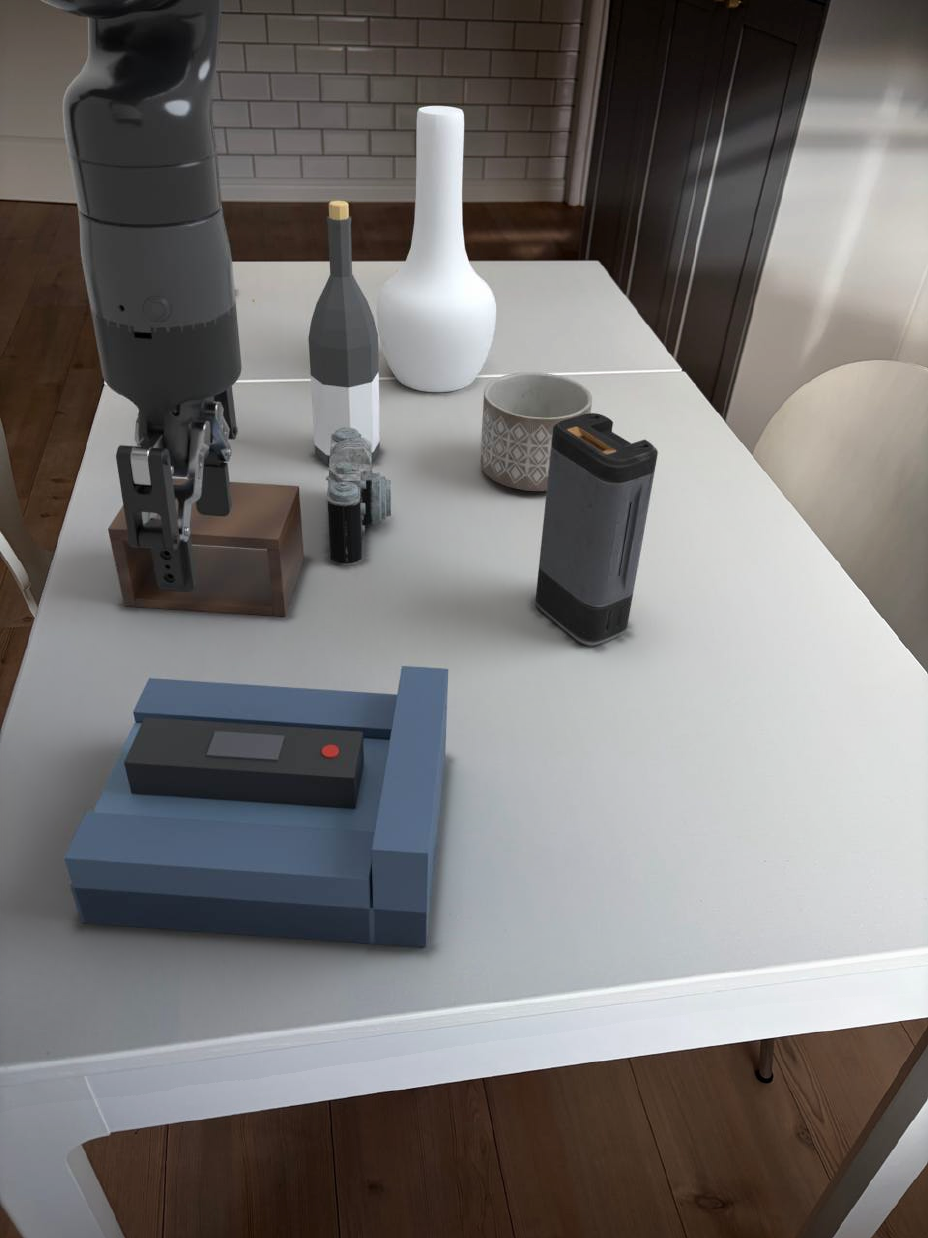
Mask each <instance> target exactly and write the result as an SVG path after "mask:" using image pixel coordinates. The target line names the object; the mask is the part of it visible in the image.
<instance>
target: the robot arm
mask: <svg viewBox="0 0 928 1238" xmlns="http://www.w3.org/2000/svg"><path fill="white" fill-rule="evenodd" d="M40 1H41V2H43V3H45V4H47V5H49V6H51V7H53V8H55V9H58V10H61V11H63V12H65V13H68V14H71V15H73V16H78V17H82V18H85V19H87V41H88V43H87V47H88V48H87V49H88V50H87V57H86V61H85V63H84V65H83V67H82V69H81V70H80V72H79V73H78V74H77V75H76V76H75V78H74V79H73V80H72V81H71V82H70V83H69V84H68V86H67V88H66V90H65V92H64V94H63V99H62V109H61V111H62V123H63V131H64V138H65V144H66V150H67V155H68V159H69V166H70V171H71V177H72V182H73V188H74V194H75V200H76V205H77V209H78V210H77V212H78V214H77V215H78V220H79V222H78V223H79V243H80V244H79V245H80V257H81V263H82V269H83V275H84V280H85V285H86V291H87V292H86V293H87V297H88V302H89V308H90V314H91V319H92V324H93V329H94V336H95V340H96V347H97V351H98V356H99V362H100V363H99V364H100V368H101V369H100V370H101V374H102V378H103V380H104V382H105V384H106V385H107V386H108V387H109V388H110V390H111V391H113V392H114V393H116V394H117V395H119V396H122V397H124V398H125V399H127V400H129V401H130V402H131V403H132V404H133V405H135V406H136V408H137V409H138V413H137V417H136V420H135V427H134V428H135V429H134V442H135V444H136V445H126V444H124V445H123V444H120V445H119V446H118V447H117V449H116V454H115V460H116V465H117V472H118V481H119V485H120V487H119V488H120V492H121V499H122V506H124V513H125V519H126V526H127V532H128V539H129V544H130V546H131V547H139V548H141V547H145V548H151V552H152V558H153V564H154V570H155V576H156V582H157V585H158V587H159V588H161V589H162V590H166V591H178V592H190V591H192V590H193V588H194V586H195V584H196V582H197V578H196V571H195V564H194V556H193V549H192V542H191V535H190V532H191V530H190V522H191V509H192V504H193V503H194V502H196V508H197V511H198V512H199V513H200V514H202V515H210V516H227V515H228V514H229V512H230V510H231V508H232V500H231V491H230V482H231V481H230V474H229V464H228V463H229V462H230V460H231V457H232V454H233V450H232V447H231V443H230V442H229V440H230V441H231V440H232V441H234V440H236V438H237V435H238V433H239V432H238V431H239V430H238V426H237V417H236V409H235V400H234V393H233V386H234V385H235V384H236V382H237V381H238V380H239V378H240V376H241V373H242V369H243V368H242V356H241V346H240V345H241V343H240V334H239V333H240V332H239V324H238V323H239V322H238V313H237V312H238V311H237V310H238V309H237V301H236V292H235V280H234V269H233V258H232V257H233V256H232V250H231V249H232V248H231V244H230V239H229V236H228V230H227V227H226V226H227V225H226V222H225V217H224V210H223V206H222V201H223V200H222V191H221V181H220V169H219V159H218V149H217V139H216V133H215V128H214V127H215V126H214V119H213V118H214V117H213V106H214V105H213V104H214V91H215V84H216V79H217V78H216V77H217V72H218V71H217V70H218V61H219V49H220V33H221V21H222V19H221V18H222V6H223V0H40ZM172 478H186V479H187V480H186V482H185V483H184V484H182V485H173V479H172ZM175 500H177V512H176V504H175ZM157 514H159V515H160V517H161V519H157Z"/></svg>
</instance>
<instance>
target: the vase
mask: <svg viewBox="0 0 928 1238" xmlns="http://www.w3.org/2000/svg"><path fill="white" fill-rule="evenodd" d="M415 133H416V141H415V142H416V144H415V145H416V151H415V152H416V156H415V157H416V160H415V161H416V163H415V165H416V167H415V169H416V170H415V202H414V220H413V221H414V222H413V228H412V229H413V230H412V235H411V236H412V237H411V243H410V248H409V252H408V254H407V256H406V259H405V262H404V263H403V264H402V266H401V267H400V269H398V271H397V272H395V273H394V274H393V275H392V276H391V277H389V278H388V279H387V280H386V281H385V282H384V283H383V285H382V287H381V289H380V291H379V294H378V296H377V302H376V322H377V323H376V324H377V332H378V337H379V340H380V344H381V348H382V351H383V355H384V358H385V360H386V363H387V364H388V366H389V368H390V370H391V372H392V374H393V375H394V376H395V378H396V379H397V381H398V382H399V383H401V384H402V385H404V386H405V387H407V388H410V389H411V390H416V391H419V392H427V393H449V392H455V391H459V390H462V389H465V388H466V387H468V386H470V385H471V384H472V383H473V382H474V381H475V380H476V378H477V376H478V375H479V374H480V372H481V371H482V370H483V367H484V365H485V363H486V361H487V359H488V355H489V353H490V351H491V347H492V343H493V339H494V335H495V331H496V330H495V329H496V324H497V323H496V322H497V304H496V303H497V302H496V299H495V296H494V292H493V291H492V289H491V287H490V286H489V284H488V283H487V282H486V281H485V280H484V279H483V278H482V277H481V276H480V275H478V274H477V273H476V271H475V270H474V268H473V267H472V265H471V263H470V261H469V258H468V254H467V251H466V246H465V237H464V236H465V235H464V225H463V175H464V173H463V170H464V146H465V145H464V144H465V140H464V139H465V114H464V110H463V109H461V108H458V107H454V106H446V105H429V106H422V107H419V108H418V110H417V112H416V132H415Z"/></svg>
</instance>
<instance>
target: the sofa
mask: <svg viewBox="0 0 928 1238" xmlns="http://www.w3.org/2000/svg"><path fill="white" fill-rule="evenodd" d="M448 689H449V668H444V667H443V668H441V667H426V666H411V665H410V666H409V665H401V670H400V675H399V682H398V688H397V692H396V693H382V692H381V693H380V692H365V691H352V690H350V691H349V690H335V689H319V688H307V687H288V686H274V685H262V684H261V685H259V684H246V683H229V682H215V681H199V680H184V679H168V678H153V677H149V678H148V679H147V681H146V684H145V686H144V688H143V690H142V692H141V694H140V695H139V698H138V701H137V702H136V704H135V707H134V709H133V711H132V714H133V718H134V723H133V725H132V728H131V730H130V732H129V733H128V735H127V738H126V740H125V742H124V744H123V747H122V748H121V751H120V753H119V755H118V757H117V760H116V761H115V763H114V765H113V768H112V769H111V772H110V774H109V777H108V779H107V781H106V783H105V785H104V787H103V789H102V791H101V794H100V795H99V797H98V799H97V802H96V805H95V806H94V808H93V811H85V812H84V815H83V816H82V819H81V821H80V823H79V825H78V827H77V829H76V831H75V833H74V835H73V838H72V840H71V842H70V844H69V846H68V847H67V850H66V852H65V854H64V856H63V860H64V863H65V866H66V870H67V872H68V876H69V879H70V882H71V884H70V885H69V888H70V891H71V895H72V897H73V901H74V903H75V906H76V907H75V908H76V910H77V913H78V916H79V920H80V922H81V924H90V925H91V924H92V925H93V924H94V925H108V926H120V927H121V926H122V927H135V928H147V929H160V930H161V929H163V930H176V931H177V930H178V931H188V932H189V931H190V932H204V933H217V934H232V935H243V936H260V937H271V938H272V937H274V938H288V939H300V940H302V939H303V940H312V941H313V940H316V941H327V942H328V941H329V942H340V943H341V942H343V943H357V944H358V943H359V944H369V945H384V946H397V947H398V946H400V947H410V948H412V947H414V948H427V945H428V934H429V925H430V924H429V923H430V914H431V905H432V895H433V894H432V893H433V885H434V875H435V864H436V853H437V845H438V844H437V843H438V837H439V836H438V835H439V826H440V825H439V824H440V816H441V806H442V805H441V804H442V796H443V795H442V794H443V786H444V775H445V765H446V747H447V745H446V743H447V722H448V721H447V719H448ZM145 717H147V718H162V719H177V720H192V721H207V722H222V723H237V724H252V725H267V726H283V727H298V728H313V729H328V730H343V731H358V732H363V747H364V765H363V771H362V776H361V781H360V786H359V792H358V797H357V802H356V808H355V809H348V808H333V807H319V806H304V805H289V804H275V803H260V802H246V801H231V800H216V799H202V798H187V797H172V796H158V795H143V794H132V793H131V790H130V786H129V782H128V778H127V773H126V769H125V765H124V761H125V759H126V756H127V754H128V752H129V750H130V748H131V746H132V743H133V741H134V739H135V737H136V735H137V732H138V730H139V728H140V726H141V724H142V722H143V719H144V718H145Z"/></svg>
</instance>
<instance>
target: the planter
mask: <svg viewBox="0 0 928 1238" xmlns="http://www.w3.org/2000/svg"><path fill="white" fill-rule="evenodd" d="M592 405H593V395H592V394H591V392H590V391H589V390H588V388H587V387H585V386H584V385H583V384H582V383H579V382H578V381H576V380H573V379H571V378H568V377H566V376H562V375H558V374H554V373H553V374H552V373H546V372H533V371H531V372H516V373H509V374H506V375H502V376H499V377H497V378H495V379H492V380H491V381H490V382H488V383H487V384H486V386H485V387H484V390H483V404H482V418H481V419H482V421H481V438H480V439H481V440H480V458H479V462H480V463H479V464H480V468H481V470H482V471H483V472H484V474H485V475H486V476H487V477H488V478H489V479H491V480H492V481H494V482H496V483H498V484H500V485H502V486H505V487H507V488H511V489H514V490H515V489H516V490H520V491H529V492H547V483H548V473H549V463H550V453H551V444H552V434H553V427H554V426H555V425H556V424H557V423H559V422H560V421H563V420H566V419H569V418H573V417H576V416H580V415H583V414H588V413H592V412H591V411H592Z"/></svg>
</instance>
